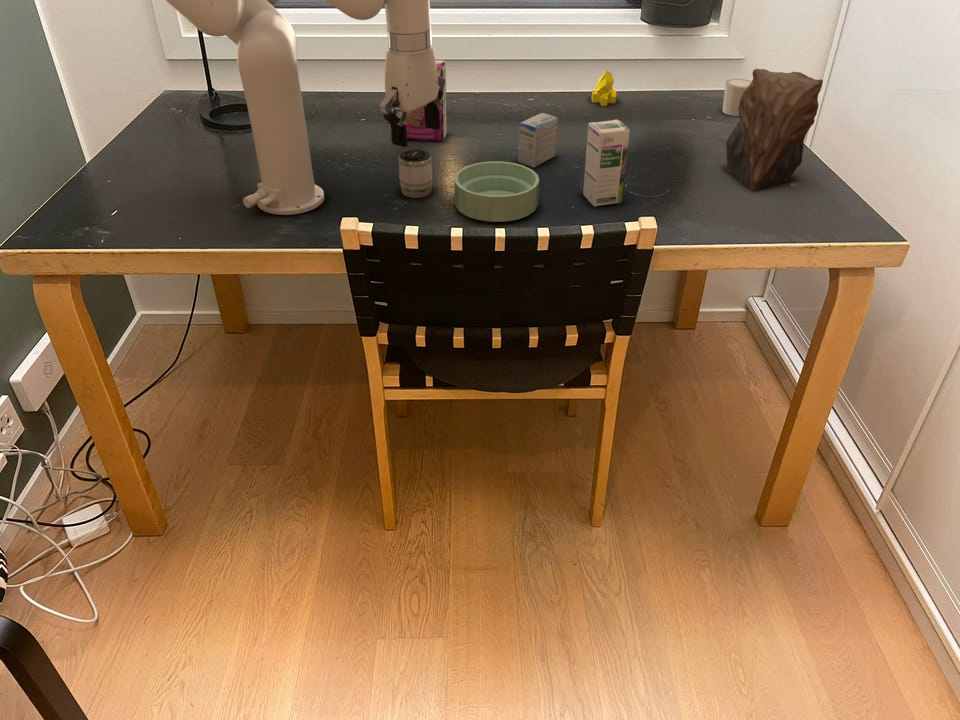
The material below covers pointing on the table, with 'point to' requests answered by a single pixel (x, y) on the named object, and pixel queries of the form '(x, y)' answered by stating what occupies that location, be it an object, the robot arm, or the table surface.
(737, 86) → the white cylinder
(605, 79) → the yellow crystal cluster
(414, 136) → the candy bar box
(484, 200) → the bowl
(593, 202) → the syrup box
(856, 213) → the table surface
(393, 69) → the robot arm
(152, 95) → the table surface
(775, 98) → the owl
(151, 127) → the table surface
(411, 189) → the camera lens
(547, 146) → the medicine box
